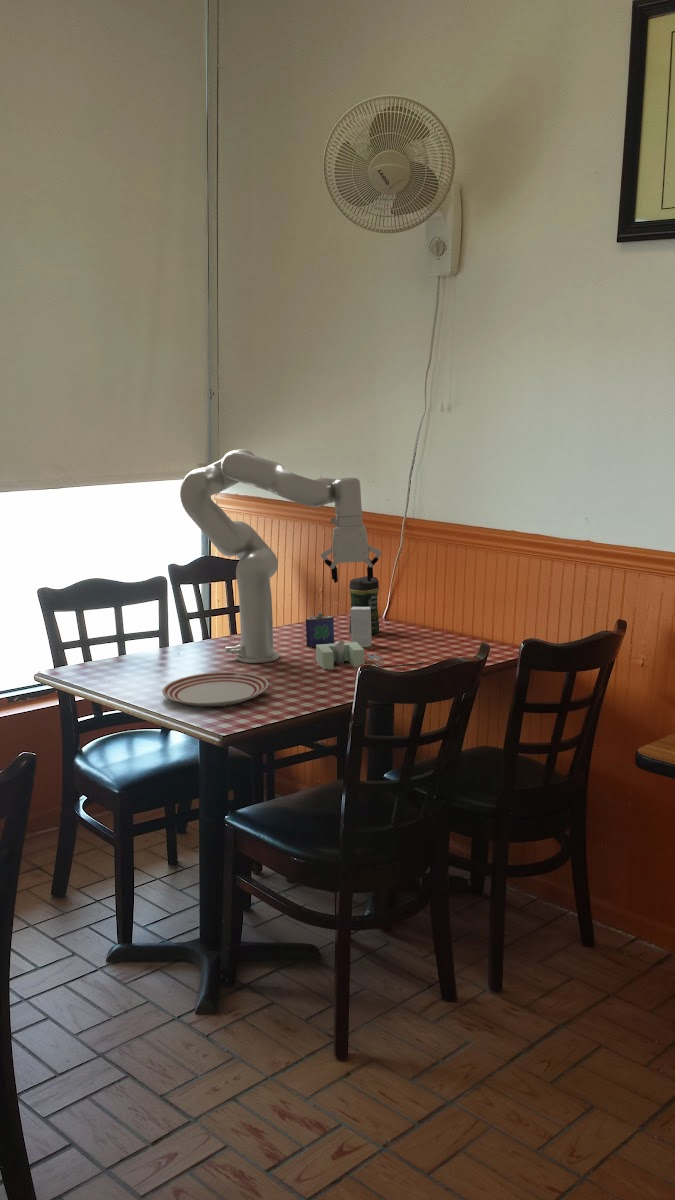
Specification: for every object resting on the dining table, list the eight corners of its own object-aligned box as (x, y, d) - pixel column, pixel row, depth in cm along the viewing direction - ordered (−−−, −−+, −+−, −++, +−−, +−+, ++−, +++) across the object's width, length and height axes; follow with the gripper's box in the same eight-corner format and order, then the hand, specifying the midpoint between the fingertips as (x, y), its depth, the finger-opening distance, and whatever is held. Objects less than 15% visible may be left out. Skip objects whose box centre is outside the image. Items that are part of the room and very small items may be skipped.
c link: (316, 661, 311) (315, 644, 310) (356, 658, 314) (356, 641, 313) (323, 669, 302) (322, 652, 301) (364, 666, 304) (364, 649, 303)
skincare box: (371, 644, 330) (371, 606, 328) (370, 647, 326) (370, 609, 324) (352, 644, 331) (351, 606, 329) (351, 647, 327) (350, 609, 325)
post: (336, 665, 306) (336, 643, 305) (335, 663, 309) (334, 641, 308) (345, 664, 307) (344, 642, 306) (343, 662, 309) (342, 640, 308)
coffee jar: (364, 638, 339) (363, 580, 335) (345, 634, 344) (344, 577, 341) (384, 632, 346) (383, 576, 342) (365, 629, 351) (364, 573, 348)
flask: (332, 643, 333) (331, 609, 331) (336, 645, 331) (335, 611, 328) (305, 646, 330) (304, 612, 327) (308, 648, 327) (307, 614, 325)
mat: (378, 667, 303) (378, 666, 303) (366, 655, 316) (366, 654, 316) (422, 664, 306) (422, 662, 306) (408, 652, 319) (408, 651, 319)
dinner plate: (213, 719, 259) (212, 706, 258) (140, 700, 276) (140, 688, 276) (290, 694, 279) (290, 682, 278) (218, 678, 297) (218, 666, 296)
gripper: (317, 524, 300) (321, 584, 303) (378, 522, 298) (381, 582, 301) (320, 521, 307) (324, 580, 311) (380, 518, 305) (384, 577, 308)
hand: (352, 581), depth 306 cm, fingers open, 9 cm apart
